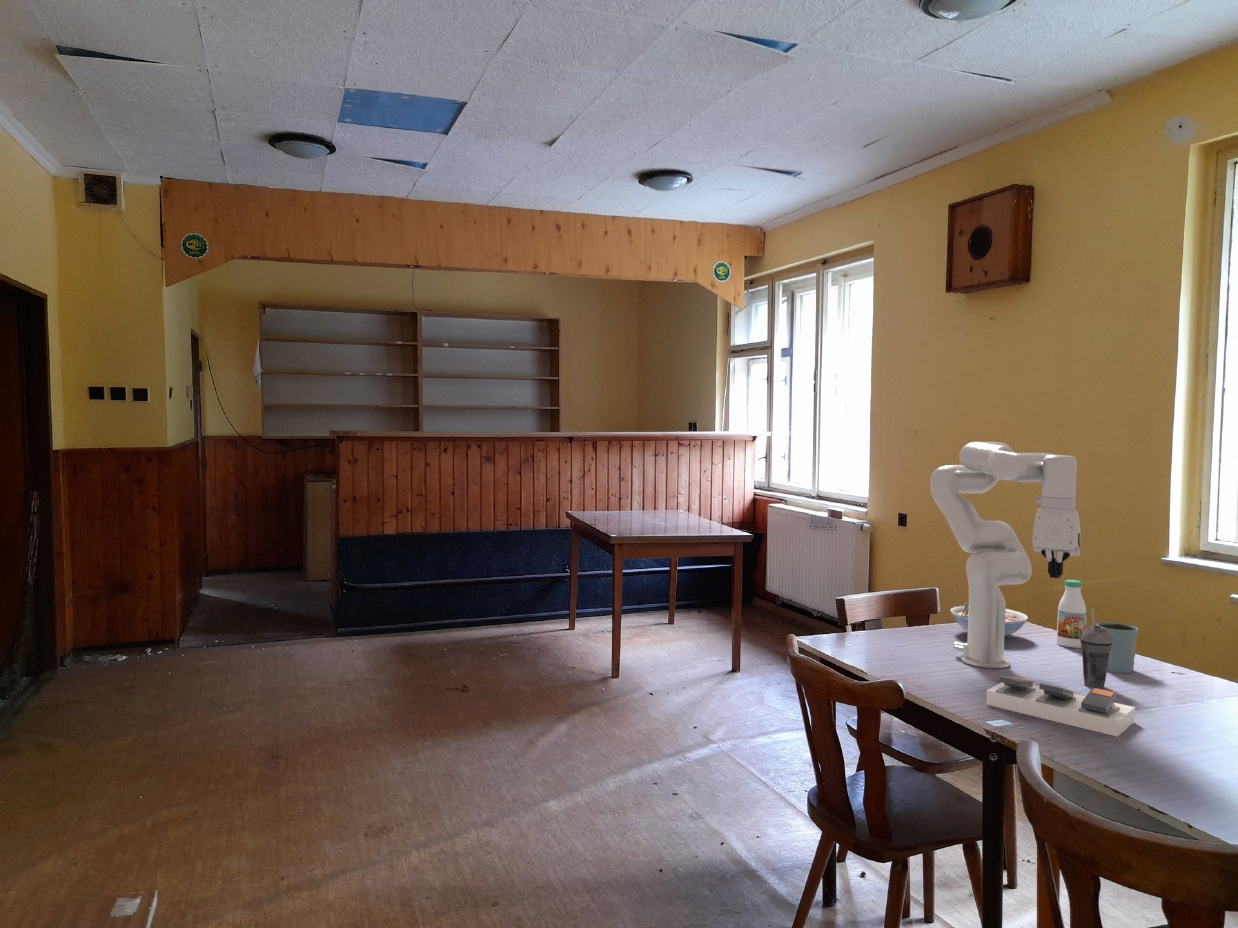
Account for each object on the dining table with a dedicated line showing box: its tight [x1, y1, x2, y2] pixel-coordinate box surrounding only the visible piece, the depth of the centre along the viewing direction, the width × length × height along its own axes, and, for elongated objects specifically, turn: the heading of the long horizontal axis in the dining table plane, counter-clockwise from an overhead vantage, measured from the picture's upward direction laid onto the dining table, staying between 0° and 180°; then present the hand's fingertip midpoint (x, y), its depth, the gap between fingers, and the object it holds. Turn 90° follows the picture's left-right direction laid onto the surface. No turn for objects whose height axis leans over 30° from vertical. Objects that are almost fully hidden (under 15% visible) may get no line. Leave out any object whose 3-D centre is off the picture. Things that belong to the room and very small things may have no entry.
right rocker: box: [1081, 688, 1118, 713], centre depth 188 cm, size 5×8×2 cm, turn 135°
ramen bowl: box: [950, 600, 1029, 637], centre depth 269 cm, size 25×23×8 cm
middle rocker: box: [1038, 683, 1075, 699], centre depth 195 cm, size 5×8×2 cm, turn 135°
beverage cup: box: [1080, 608, 1112, 689], centre depth 218 cm, size 7×7×20 cm
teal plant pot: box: [1095, 621, 1139, 674], centre depth 234 cm, size 10×10×12 cm
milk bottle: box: [1056, 579, 1087, 649], centre depth 259 cm, size 8×8×20 cm
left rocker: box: [998, 676, 1034, 690], centre depth 201 cm, size 5×8×2 cm, turn 135°
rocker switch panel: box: [985, 682, 1136, 738], centre depth 196 cm, size 28×13×4 cm, turn 45°
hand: (1055, 577), depth 211 cm, fingers closed
